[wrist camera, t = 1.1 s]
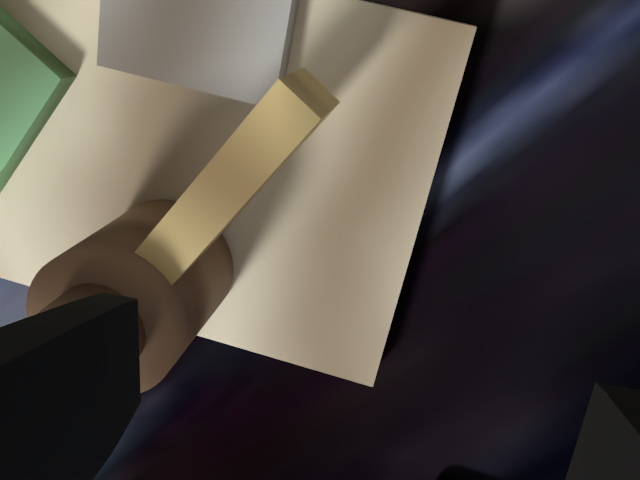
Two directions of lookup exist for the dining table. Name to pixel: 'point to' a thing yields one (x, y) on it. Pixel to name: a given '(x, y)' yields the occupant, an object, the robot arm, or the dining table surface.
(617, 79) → the dining table surface
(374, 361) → the tuner board
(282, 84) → the knob
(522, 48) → the dining table surface
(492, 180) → the dining table surface
